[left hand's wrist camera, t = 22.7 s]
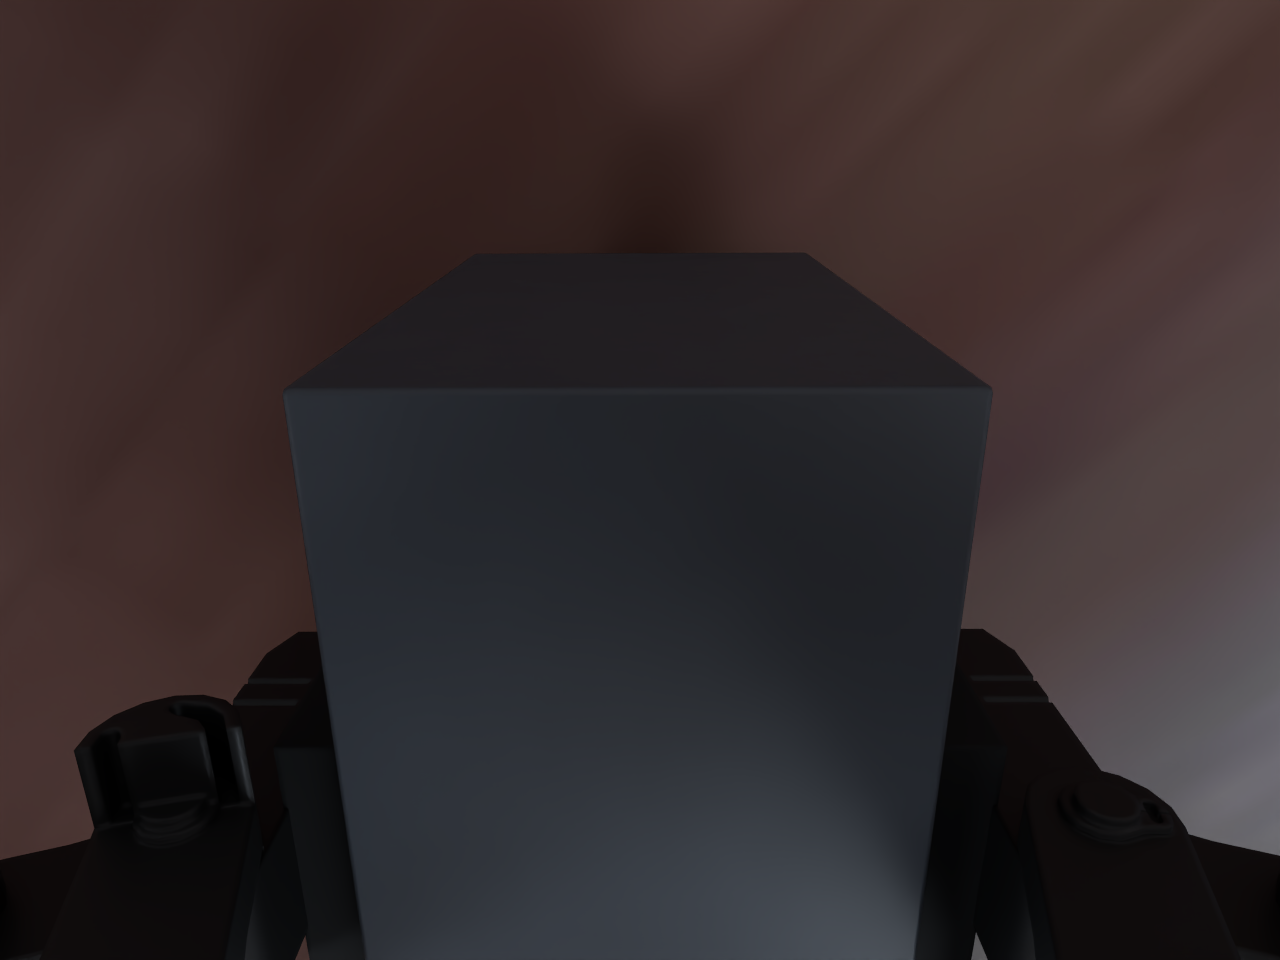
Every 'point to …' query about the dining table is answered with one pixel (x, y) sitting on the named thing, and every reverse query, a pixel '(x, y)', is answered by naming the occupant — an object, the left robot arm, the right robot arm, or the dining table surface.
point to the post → (639, 607)
